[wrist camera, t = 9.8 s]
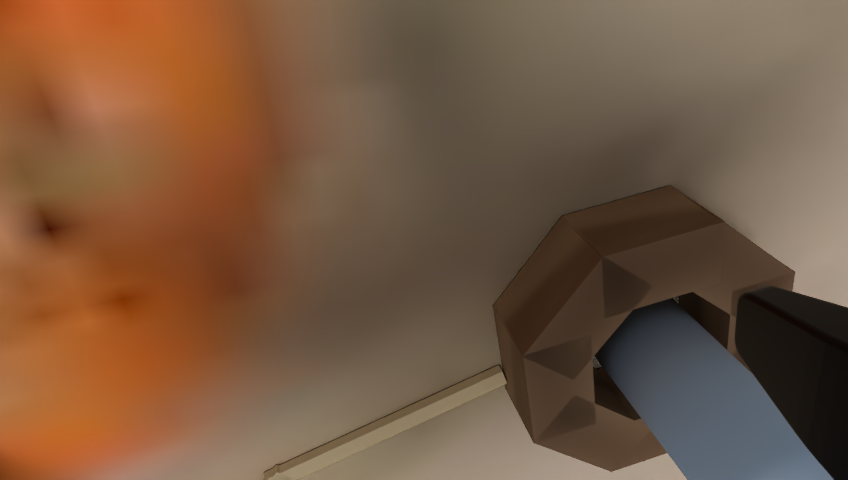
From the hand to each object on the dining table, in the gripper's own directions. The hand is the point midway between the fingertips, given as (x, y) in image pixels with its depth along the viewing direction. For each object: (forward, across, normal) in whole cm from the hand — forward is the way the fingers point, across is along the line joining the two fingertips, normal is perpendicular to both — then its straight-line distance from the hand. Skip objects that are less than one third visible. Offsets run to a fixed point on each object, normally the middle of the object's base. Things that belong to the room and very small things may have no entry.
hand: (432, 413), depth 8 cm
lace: (+12, +3, +14) cm, 18 cm away
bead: (+12, -9, +10) cm, 18 cm away
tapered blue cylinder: (+12, -9, +10) cm, 18 cm away
